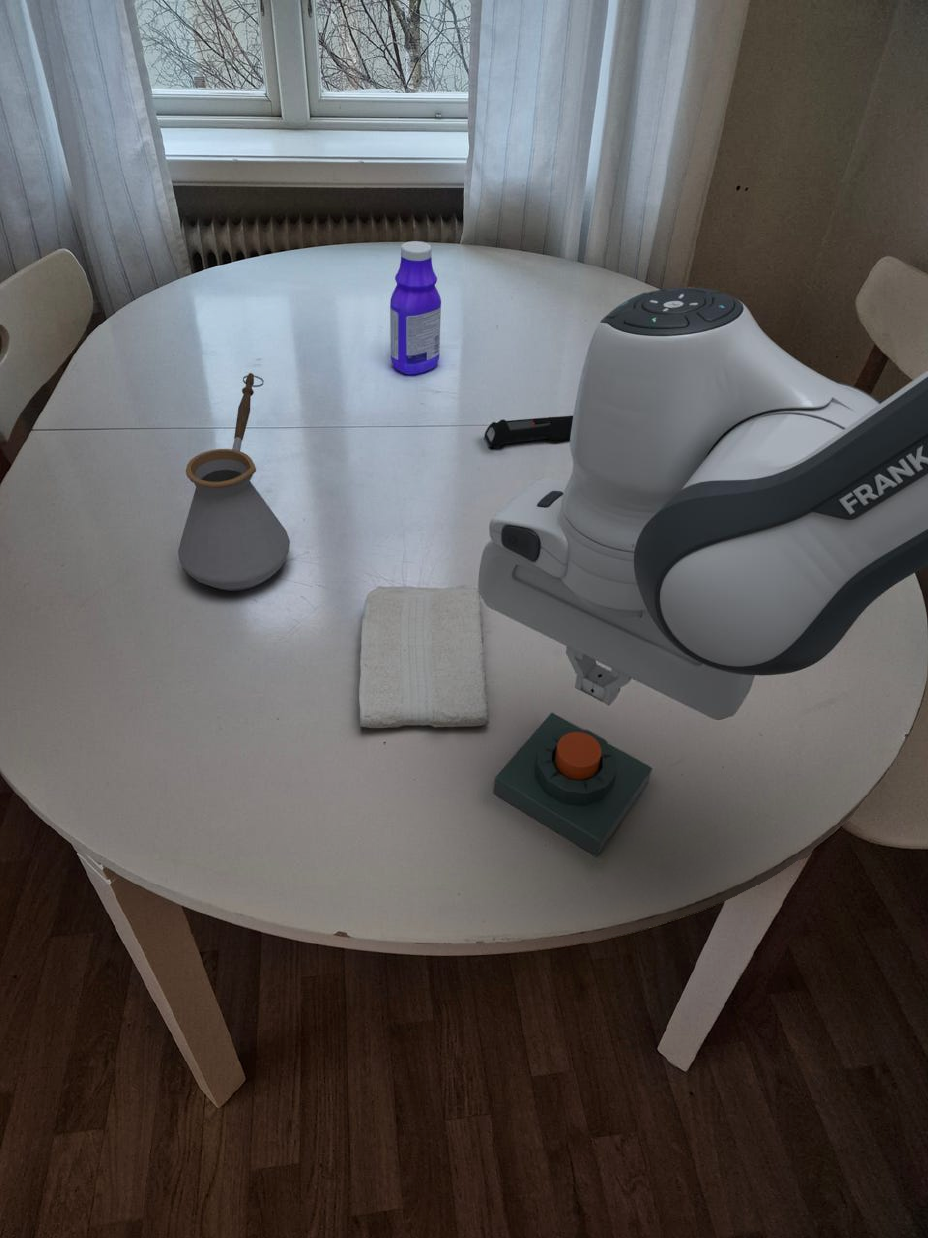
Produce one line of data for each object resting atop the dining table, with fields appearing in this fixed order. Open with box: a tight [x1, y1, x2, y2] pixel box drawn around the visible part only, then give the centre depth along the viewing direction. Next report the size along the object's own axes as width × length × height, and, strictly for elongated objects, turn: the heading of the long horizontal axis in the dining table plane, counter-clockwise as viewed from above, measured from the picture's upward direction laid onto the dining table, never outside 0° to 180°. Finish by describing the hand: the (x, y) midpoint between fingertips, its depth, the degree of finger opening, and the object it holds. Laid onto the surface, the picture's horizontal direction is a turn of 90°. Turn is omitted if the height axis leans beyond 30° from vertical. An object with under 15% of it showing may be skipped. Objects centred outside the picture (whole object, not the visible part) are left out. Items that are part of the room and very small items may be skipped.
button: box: [555, 732, 602, 780], centre depth 70 cm, size 4×4×2 cm
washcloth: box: [358, 584, 490, 729], centre depth 82 cm, size 12×18×3 cm, turn 3°
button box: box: [493, 712, 653, 857], centre depth 72 cm, size 10×9×4 cm
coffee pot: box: [177, 372, 291, 592], centre depth 91 cm, size 21×12×15 cm, turn 177°
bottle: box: [389, 240, 442, 375], centre depth 121 cm, size 7×6×17 cm
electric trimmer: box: [484, 415, 573, 450], centre depth 113 cm, size 4×16×3 cm, turn 103°
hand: (596, 692), depth 64 cm, fingers closed
